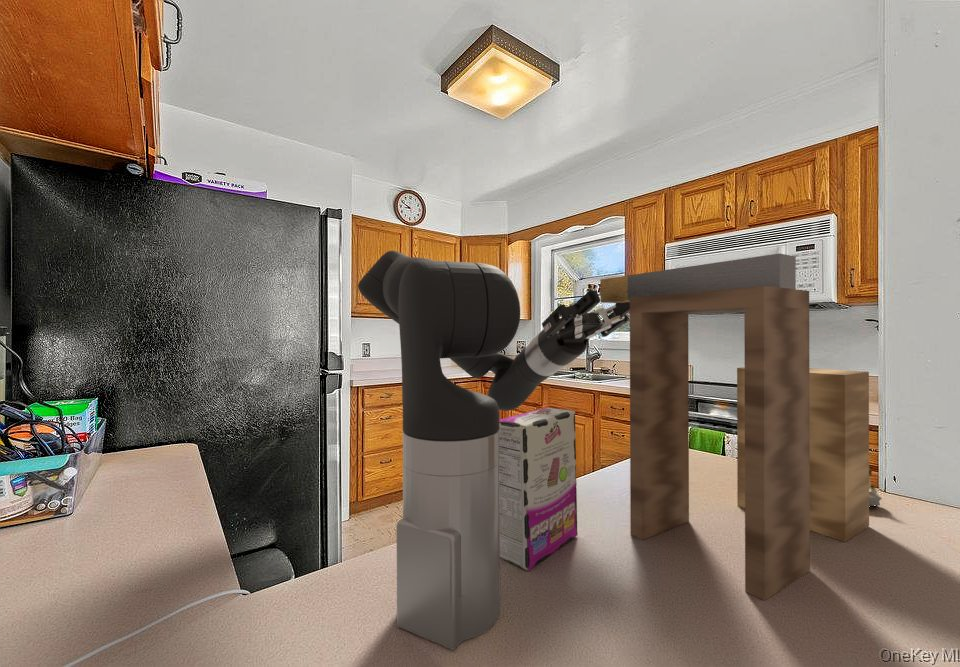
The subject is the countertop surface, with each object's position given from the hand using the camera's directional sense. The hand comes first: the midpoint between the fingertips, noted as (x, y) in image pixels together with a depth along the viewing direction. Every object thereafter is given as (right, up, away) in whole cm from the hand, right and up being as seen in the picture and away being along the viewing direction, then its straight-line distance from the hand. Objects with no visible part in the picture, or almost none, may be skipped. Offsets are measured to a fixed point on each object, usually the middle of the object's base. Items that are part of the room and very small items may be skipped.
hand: (616, 295), depth 63 cm
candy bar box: (-13, -32, -11) cm, 37 cm away
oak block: (+25, -32, -3) cm, 41 cm away
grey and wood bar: (+5, -1, -9) cm, 10 cm away
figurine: (+38, -32, +1) cm, 49 cm away
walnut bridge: (+8, -32, -12) cm, 35 cm away
